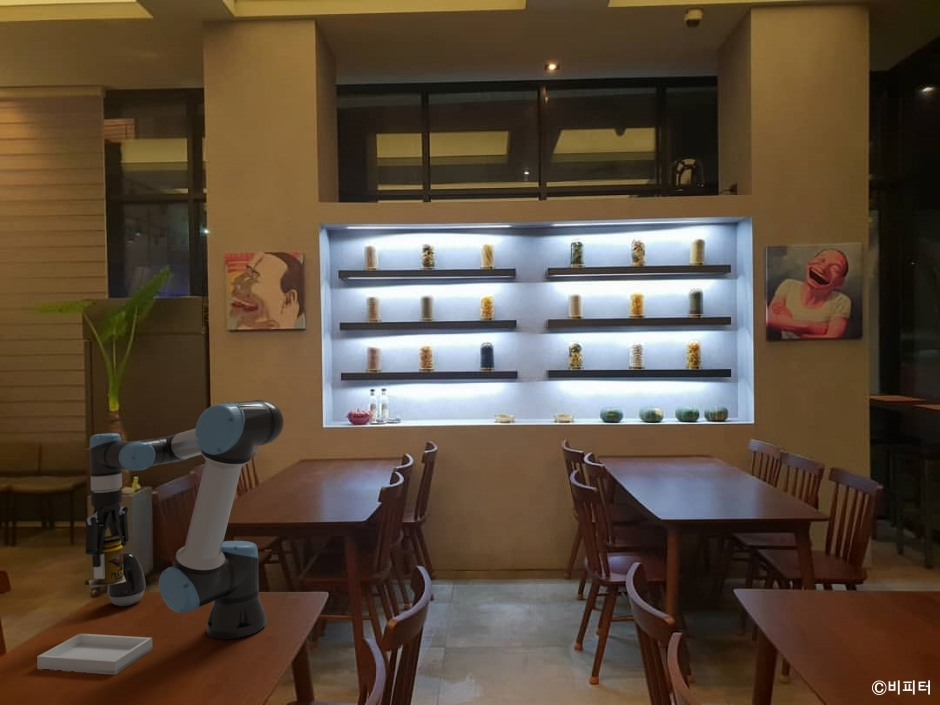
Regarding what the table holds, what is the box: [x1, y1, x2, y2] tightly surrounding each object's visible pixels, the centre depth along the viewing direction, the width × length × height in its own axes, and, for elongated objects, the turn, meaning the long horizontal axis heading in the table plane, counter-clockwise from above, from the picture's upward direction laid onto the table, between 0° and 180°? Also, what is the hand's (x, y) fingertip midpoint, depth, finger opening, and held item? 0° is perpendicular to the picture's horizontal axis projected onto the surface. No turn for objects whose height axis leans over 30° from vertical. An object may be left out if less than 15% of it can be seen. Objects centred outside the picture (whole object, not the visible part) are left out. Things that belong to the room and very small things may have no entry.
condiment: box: [88, 535, 126, 589], centre depth 177 cm, size 7×8×12 cm
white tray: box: [36, 633, 153, 676], centre depth 159 cm, size 21×13×3 cm, turn 80°
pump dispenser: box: [107, 552, 146, 607], centre depth 196 cm, size 10×10×15 cm
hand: (108, 573), depth 178 cm, fingers closed on condiment, 6 cm apart
